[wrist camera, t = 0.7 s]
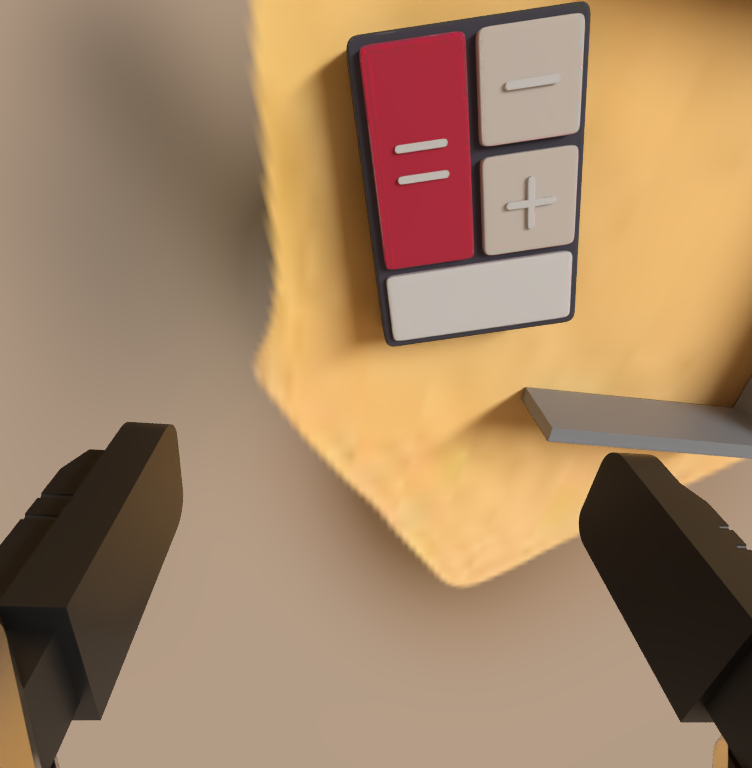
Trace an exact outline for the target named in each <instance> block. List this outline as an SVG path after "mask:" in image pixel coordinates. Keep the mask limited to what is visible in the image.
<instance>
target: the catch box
mask: <svg viewBox="0 0 752 768" xmlns="http://www.w3.org/2000/svg"><path fill="white" fill-rule="evenodd" d="M522 401H523V402H524V404H525V406H526V407H527V409H528V410H529V412H530V414H531V415H532V417H533V419H534V420H535V422H536V423H537V425H538V427H539V428H540V430H541V431H542V433H543V435H544V436H545V438H546V440H547V441H548V442H560V443H572V444H584V445H596V446H607V447H619V448H631V449H643V450H655V451H667V452H678V453H690V454H702V455H714V456H726V457H738V458H749V459H752V376H751V378H750V379H749V381H748V383H747V385H746V386H745V388H744V390H743V391H742V393H741V395H740V397H739V398H738V400H737V402H736V403H735V405H734V407H733V408H732V407H722V406H712V405H702V404H692V403H681V402H671V401H661V400H651V399H641V398H630V397H620V396H610V395H600V394H589V393H579V392H569V391H559V390H549V389H538V388H528V387H526V388H525V391H524V394H523V397H522Z"/></svg>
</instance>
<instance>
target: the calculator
mask: <svg viewBox="0 0 752 768" xmlns="http://www.w3.org/2000/svg"><path fill="white" fill-rule="evenodd" d="M589 33H590V7H589V5H588V4H587V3H586V2H573V3H566V4H560V5H553V6H547V7H540V8H533V9H527V10H520V11H513V12H507V13H500V14H493V15H487V16H480V17H474V18H467V19H460V20H454V21H447V22H440V23H434V24H427V25H421V26H414V27H407V28H401V29H394V30H387V31H381V32H374V33H368V34H361V35H356V36H353V37H351V38H350V39H349V41H348V43H347V64H348V72H349V79H350V87H351V94H352V102H353V109H354V117H355V124H356V132H357V139H358V147H359V154H360V162H361V169H362V177H363V184H364V192H365V199H366V207H367V214H368V222H369V229H370V237H371V244H372V252H373V259H374V268H375V275H376V283H377V290H378V298H379V305H380V313H381V320H382V326H383V331H384V336H385V340H386V343H387V344H388V345H389V346H401V345H408V344H415V343H422V342H429V341H436V340H443V339H450V338H457V337H464V336H471V335H478V334H485V333H492V332H499V331H506V330H513V329H520V328H527V327H534V326H541V325H548V324H555V323H562V322H567V321H569V320H571V319H572V318H573V316H574V312H575V295H576V276H577V257H578V239H579V220H580V201H581V182H582V164H583V145H584V126H585V108H586V89H587V70H588V51H589Z"/></svg>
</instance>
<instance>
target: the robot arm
mask: <svg viewBox="0 0 752 768" xmlns="http://www.w3.org/2000/svg"><path fill="white" fill-rule="evenodd" d="M41 494H42V495H41V498H37V499H36V501H35V502H34V503H33V504H32V506H31V507H30V508H29V509H28V511H27V512H26V513H25V518H24V519H21V520H20V521H19V522H18V523H17V525H16V526H15V527H14V528H13V530H12V531H11V533H10V534H9V535H8V536H7V537H6V538H5V540H4V541H3V542H2V544H1V545H0V768H60V767H59V764H58V760H57V757H56V754H57V752H58V750H59V748H60V745H61V743H62V741H63V739H64V736H65V734H66V732H67V729H68V728H69V725H70V723H71V721H72V720H101V718H102V715H103V713H104V710H105V708H106V705H107V703H108V700H109V698H110V695H111V692H112V690H113V688H114V685H115V683H116V680H117V678H118V675H119V673H120V670H121V667H122V665H123V663H124V660H125V658H126V655H127V652H128V650H129V647H130V645H131V642H132V640H133V638H134V635H135V632H136V630H137V628H138V625H139V623H140V620H141V617H142V615H143V613H144V610H145V607H146V605H147V603H148V600H149V597H150V595H151V592H152V590H153V587H154V585H155V582H156V580H157V577H158V575H159V572H160V570H161V567H162V565H163V562H164V560H165V557H166V555H167V552H168V550H169V547H170V545H171V542H172V540H173V537H174V535H175V532H176V530H177V527H178V524H179V521H180V517H181V512H182V504H183V487H182V478H181V468H180V458H179V450H178V440H177V432H176V429H175V427H174V426H173V425H170V424H153V423H152V424H151V423H137V422H127V423H125V424H124V425H123V426H122V427H121V428H120V430H119V431H118V433H117V434H116V435H115V437H114V438H113V440H112V441H111V442H110V444H109V445H108V447H107V448H106V450H88V451H87V452H85V453H83V454H82V455H81V456H79V457H77V458H76V459H74V460H73V461H71V462H70V463H68V464H67V465H65V466H64V467H62V468H61V469H60V470H59V471H58V473H57V474H56V475H55V477H54V478H53V479H52V480H51V482H50V483H49V484H48V485H47V487H46V488H45V489H44V490H43V492H42V493H41ZM728 526H729V525H728V524H727V523H726V522H725V521H724V520H723V519H722V518H721V517H720V516H719V515H718V513H717V512H716V511H715V510H714V509H713V508H712V507H711V506H710V505H709V504H708V503H707V502H706V501H705V500H703V499H702V498H700V497H699V496H698V495H696V494H695V493H693V492H692V491H690V490H689V489H688V488H686V487H685V486H683V485H682V484H681V483H679V481H678V480H677V479H676V478H675V477H674V476H673V475H672V474H671V472H670V471H669V470H668V469H667V468H666V467H665V466H664V465H663V464H662V462H661V461H660V460H659V459H658V458H656V457H655V456H653V455H647V454H630V453H609V454H608V455H607V456H605V458H604V459H603V461H602V463H601V465H600V467H599V470H598V472H597V474H596V477H595V479H594V481H593V484H592V486H591V488H590V491H589V493H588V495H587V498H586V500H585V502H584V505H583V507H582V509H581V512H580V516H579V532H580V536H581V540H582V543H583V545H584V547H585V548H586V550H587V552H588V554H589V556H590V558H591V559H592V561H593V563H594V565H595V566H596V569H597V570H598V572H599V574H600V576H601V578H602V579H603V581H604V583H605V585H606V587H607V589H608V590H609V592H610V594H611V596H612V598H613V600H614V601H615V603H616V605H617V607H618V609H619V610H620V612H621V614H622V616H623V618H624V620H625V621H626V623H627V625H628V627H629V629H630V631H631V632H632V634H633V636H634V638H635V640H636V642H637V643H638V645H639V647H640V649H641V651H642V652H643V654H644V656H645V658H646V659H647V662H648V663H649V665H650V667H651V669H652V671H653V673H654V674H655V676H656V678H657V680H658V682H659V683H660V685H661V687H662V689H663V691H664V693H665V694H666V696H667V698H668V700H669V702H670V703H671V705H672V707H673V709H674V711H675V713H676V714H677V716H678V718H679V720H680V722H714V723H715V725H716V726H717V728H718V729H719V731H720V733H721V734H722V735H721V737H720V738H719V739H718V740H717V741H716V743H715V745H714V749H713V764H712V768H752V551H751V550H747V549H746V544H745V543H744V542H743V541H742V539H741V538H740V537H739V536H738V535H737V534H736V533H735V532H734V531H733V530H729V529H728Z"/></svg>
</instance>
